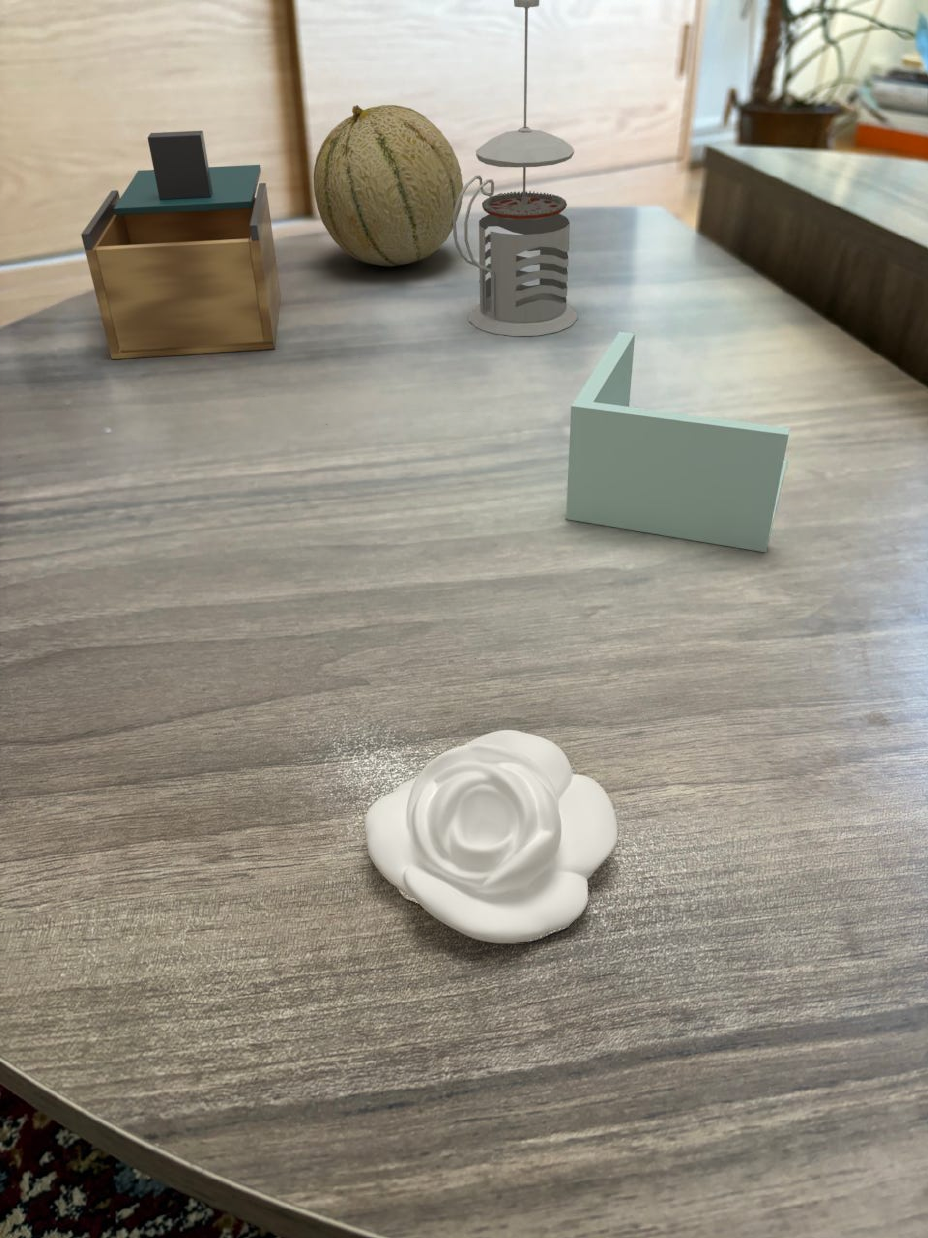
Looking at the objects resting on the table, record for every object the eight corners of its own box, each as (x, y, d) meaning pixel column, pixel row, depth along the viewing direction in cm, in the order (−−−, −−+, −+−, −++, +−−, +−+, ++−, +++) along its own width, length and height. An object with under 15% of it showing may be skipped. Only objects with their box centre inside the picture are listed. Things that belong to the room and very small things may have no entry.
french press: (600, 319, 88) (620, -14, 73) (494, 350, 83) (492, -1, 68) (533, 290, 95) (538, -21, 80) (430, 316, 90) (416, -10, 75)
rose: (585, 677, 42) (658, 854, 35) (579, 752, 45) (647, 932, 37) (350, 708, 41) (373, 898, 33) (359, 783, 44) (382, 975, 36)
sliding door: (115, 215, 85) (99, 143, 81) (139, 177, 95) (126, 112, 92) (252, 208, 86) (242, 137, 82) (261, 171, 96) (252, 106, 93)
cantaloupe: (493, 258, 103) (493, 97, 94) (394, 296, 94) (382, 123, 85) (392, 233, 111) (382, 82, 102) (291, 266, 102) (271, 104, 93)
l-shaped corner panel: (765, 552, 58) (788, 434, 53) (566, 519, 61) (571, 405, 57) (787, 459, 67) (808, 352, 62) (611, 434, 70) (619, 331, 66)
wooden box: (111, 359, 83) (80, 233, 77) (136, 304, 94) (111, 190, 88) (274, 349, 84) (257, 224, 78) (280, 295, 95) (265, 182, 89)
